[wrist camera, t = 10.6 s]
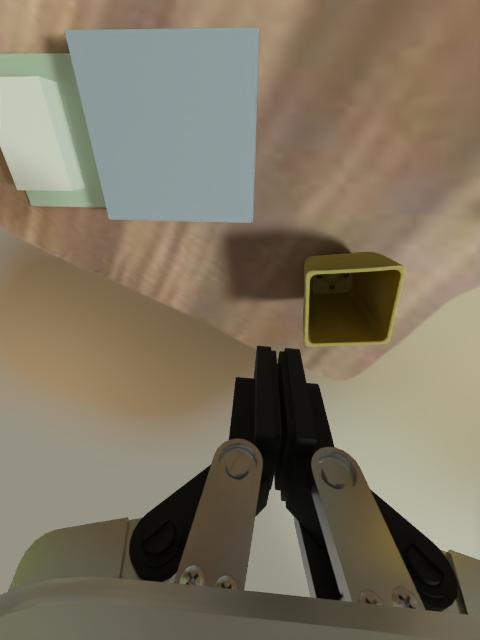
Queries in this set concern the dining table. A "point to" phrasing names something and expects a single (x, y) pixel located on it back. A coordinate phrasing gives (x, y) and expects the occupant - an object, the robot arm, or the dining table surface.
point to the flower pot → (350, 299)
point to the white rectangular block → (37, 136)
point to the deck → (171, 120)
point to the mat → (63, 73)
